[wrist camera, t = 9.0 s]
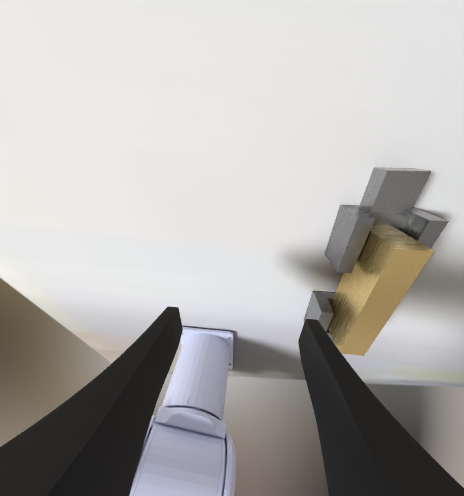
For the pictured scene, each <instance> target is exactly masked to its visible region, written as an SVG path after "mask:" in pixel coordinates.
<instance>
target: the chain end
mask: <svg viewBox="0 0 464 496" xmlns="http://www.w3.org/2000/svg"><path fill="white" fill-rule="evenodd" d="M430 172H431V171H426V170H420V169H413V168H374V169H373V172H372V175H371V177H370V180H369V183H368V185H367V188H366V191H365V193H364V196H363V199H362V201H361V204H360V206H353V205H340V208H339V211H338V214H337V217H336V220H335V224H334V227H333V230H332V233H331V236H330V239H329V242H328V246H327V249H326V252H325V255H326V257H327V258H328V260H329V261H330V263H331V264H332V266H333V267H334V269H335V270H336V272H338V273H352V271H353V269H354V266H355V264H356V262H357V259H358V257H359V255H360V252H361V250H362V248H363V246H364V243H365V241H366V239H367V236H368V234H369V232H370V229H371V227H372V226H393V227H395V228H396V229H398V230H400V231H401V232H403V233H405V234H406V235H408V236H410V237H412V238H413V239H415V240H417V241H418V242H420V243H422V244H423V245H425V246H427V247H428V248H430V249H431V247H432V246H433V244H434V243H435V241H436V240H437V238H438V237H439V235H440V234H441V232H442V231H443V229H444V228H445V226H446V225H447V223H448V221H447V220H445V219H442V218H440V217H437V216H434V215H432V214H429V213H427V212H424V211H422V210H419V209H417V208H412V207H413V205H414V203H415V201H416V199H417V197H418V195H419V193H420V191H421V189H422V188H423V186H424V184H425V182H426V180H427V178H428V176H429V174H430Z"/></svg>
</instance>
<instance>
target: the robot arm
mask: <svg viewBox="0 0 464 496" xmlns="http://www.w3.org/2000/svg"><path fill="white" fill-rule="evenodd" d="M233 336H234V334H233V332H230V331H219V330H209V329H199V328H188V327H182V323H181V318H180V313H179V309H178V307H167V308H166V309H165V310H164V311H163V312H162V314H161V315H160V316H159V317H158V318H157V319H156V320H155V321H154V322H153V323H152V325H151V326H150V327H149V328H148V329H147V330H146V331H145V332H144V333H143V334H142V335H141V336H140V337H139V338H138V339H137V340H136V341H135V342H134V343H133V344H132V345H131V346H130V347H129V348H128V349H127V350H126V351H125V352H124V353H123V354H122V355H121V356H120V357H119V358H117V359H116V360H115V361H114V362H113V363H112V364H111V365H110V366H109V367H107V368H106V369H105V370H104V371H103V372H102V373H101V374H99V375H98V376H97V377H96V378H95V379H93V380H92V381H91V382H90V383H88V384H87V385H86V386H85V387H83V388H82V389H81V390H80V391H78V392H77V393H76V394H75V395H73V396H72V397H71V398H69V399H68V400H67V401H65V402H64V403H63V404H61V405H60V406H59V407H57V408H56V409H55V410H53V411H52V412H50V413H49V414H48V415H46V416H45V417H43V418H42V419H41V420H40V421H38V422H37V423H35V424H34V425H32V426H31V427H29V428H28V429H27V430H25V431H24V432H22V433H21V434H19V435H18V436H16V437H15V438H13V439H12V440H10V441H9V442H7V443H6V444H4V445H3V446H1V447H0V496H234V490H235V477H236V454H235V447H234V444H233V441H232V439H231V436H230V434H228V433H226V424H227V423H226V422H223V413H224V404H225V394H226V385H227V377H228V369H232V368H233ZM180 340H181V345H182V349H181V352H180V355H179V358H178V361H177V364H176V367H175V370H174V372H173V376H172V378H171V381H170V384H169V387H168V390H167V393H166V396H165V398H164V401H163V404H162V407H160V408H159V410H158V413H157V416H156V419H155V416H154V415H153V412H154V408H155V405H156V402H157V399H158V397H159V394H160V391H161V389H162V386H163V384H164V381H165V379H166V376H167V374H168V371H169V369H170V366H171V364H172V361H173V359H174V356H175V354H176V351H177V349H178V346H179V342H180ZM298 342H299V349H300V356H301V362H302V366H303V370H304V374H305V378H306V382H307V385H308V389H309V393H310V397H311V401H312V404H313V409H314V413H315V417H316V422H317V426H318V432H319V438H320V443H321V449H322V455H323V460H324V467H325V473H326V479H327V485H328V493H329V496H464V488H463V487H462V486H461V485H460V484H459V483H458V482H456V481H455V479H454V478H452V477H451V476H450V475H449V474H448V473H447V472H446V471H445V470H444V469H443V468H442V467H441V466H440V465H439V464H438V463H437V462H436V461H435V460H434V459H433V458H432V457H431V456H430V454H429V453H428V452H426V450H425V449H423V447H421V445H420V444H419V443H418V442H417V441H416V440H415V439H414V438H413V437H412V436H411V435H410V434H409V433H408V432H407V431H406V430H405V429H404V428H403V427H402V426H401V425H400V423H399V422H398V421H397V420H396V419H395V418H394V417H393V416H392V415H391V414H390V412H389V411H388V410H387V409H386V408H385V407H384V406H383V405H382V403H381V402H380V401H379V400H378V399H377V398H376V397H375V395H374V394H373V393H372V392H371V391H370V390H369V388H368V387H367V386H366V385H365V383H364V382H363V381H362V380H361V378H360V377H359V376H358V375H357V373H356V372H355V371H354V370H353V368H352V367H351V366H350V364H349V363H348V362H347V360H346V359H345V358H344V356H343V355H342V354H341V352H340V351H339V350H338V348H337V347H336V346H335V344H334V343H333V341H332V340H331V339H330V337H329V336H328V334H327V333H326V331H325V330H324V328H323V327H322V325H321V324H320V322H319V321H318V320H315V319H305V322H304V325H303V329H302V332H301V335H300V338H299V341H298Z"/></svg>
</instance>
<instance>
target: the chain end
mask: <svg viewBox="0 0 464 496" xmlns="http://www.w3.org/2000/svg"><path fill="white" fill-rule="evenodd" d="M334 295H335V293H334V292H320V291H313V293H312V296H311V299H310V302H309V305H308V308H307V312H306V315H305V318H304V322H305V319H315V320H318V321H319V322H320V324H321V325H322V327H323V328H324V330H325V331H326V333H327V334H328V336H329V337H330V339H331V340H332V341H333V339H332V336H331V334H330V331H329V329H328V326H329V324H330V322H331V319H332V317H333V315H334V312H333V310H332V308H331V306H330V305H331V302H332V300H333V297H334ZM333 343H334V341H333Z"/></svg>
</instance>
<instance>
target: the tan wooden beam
mask: <svg viewBox="0 0 464 496" xmlns="http://www.w3.org/2000/svg"><path fill="white" fill-rule="evenodd" d="M433 253H434V251H433V250H432V249H430V248H428V247H427V246H425V245H423V244H422V243H420V242H418V241H417V240H415V239H413V238H412V237H410V236H408V235H406V234H405V233H403V232H401V231H400V230H398V229H396V228H395V227H393V226H372V227H371V229H370V232H369V234H368V236H367V239H366V241H365V243H364V246H363V248H362V250H361V252H360V255H359V257H358V259H357V262H356V264H355V266H354V269H353V271H352V273H343V275H342V277H341V280H340V282H339V285H338V287H337V290H336V292H335V295H334V297H333V300H332V302H331V305H330V306H331V308H332V310H333V312H334V315H333V317H332V319H331V322H330V324H329V326H328V329H329V331H330V334H331V336H332V339H333V341H334V344H335V346H336V347H337V348H338V350H339V351H340V352H341V353H343V354H353V355H362V356H364V355H365V353H366V352H367V350H368V349H369V347H370V346H371V344H372V343H373V341H374V340H375V338H376V337H377V336H378V334H379V333H380V331H381V330H382V328H383V327H384V325H385V324H386V322H387V321H388V319H389V318H390V316H391V315H392V313H393V312H394V310H395V309H396V307H397V306H398V304H399V303H400V301H401V300H402V299H403V297H404V296H405V294H406V293H407V291H408V290H409V288H410V287H411V285H412V284H413V282H414V281H415V279H416V278H417V276H418V275H419V273H420V272H421V270H422V269H423V267H424V266H425V264H426V263H427V262H428V260H429V259H430V257H431V256H432V254H433Z"/></svg>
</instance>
